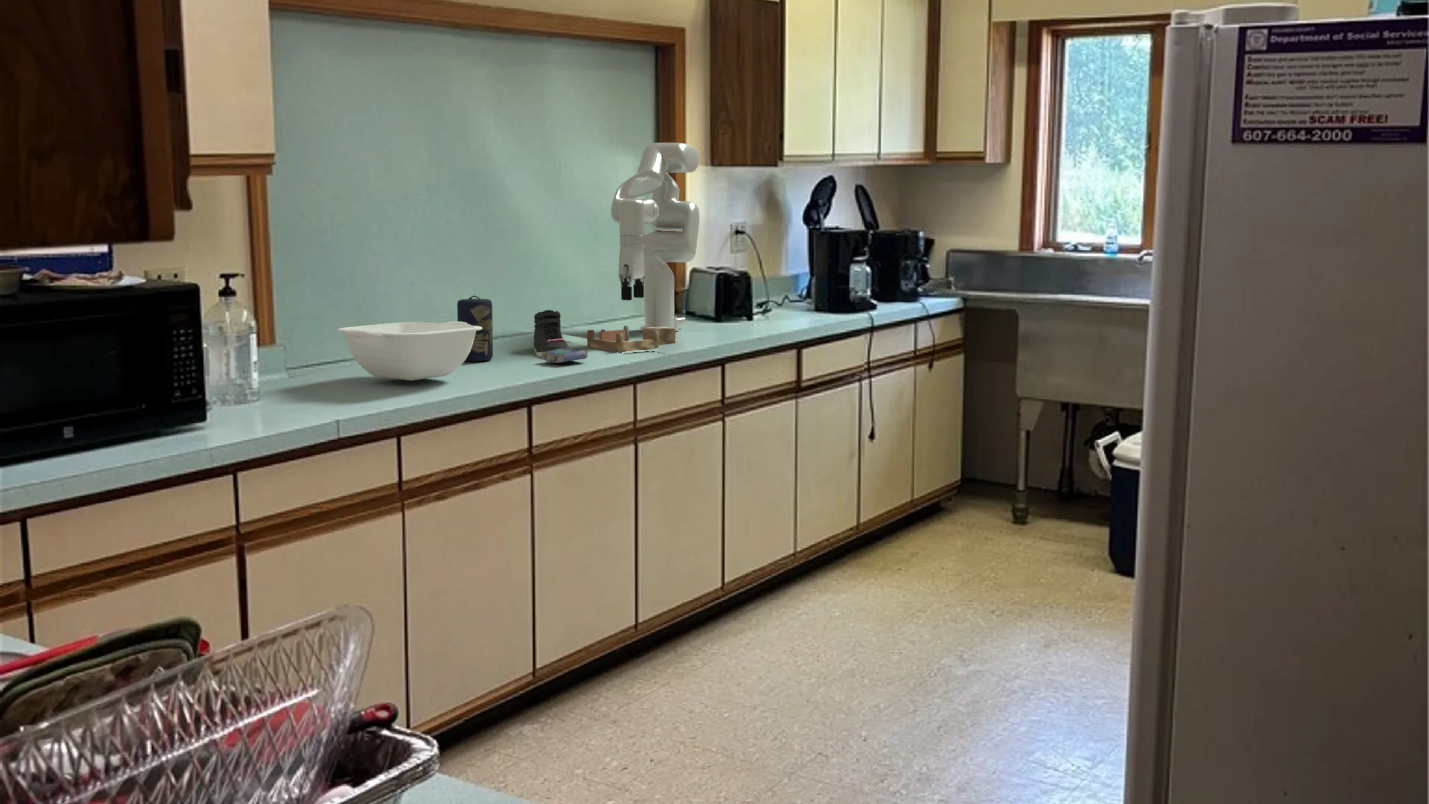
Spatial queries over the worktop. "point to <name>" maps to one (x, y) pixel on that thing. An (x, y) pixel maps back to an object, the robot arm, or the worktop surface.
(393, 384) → the worktop surface
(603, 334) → the rail
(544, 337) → the sneaker
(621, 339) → the frame
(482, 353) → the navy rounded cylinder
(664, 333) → the seat block
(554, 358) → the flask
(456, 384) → the worktop surface
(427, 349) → the white bowl
